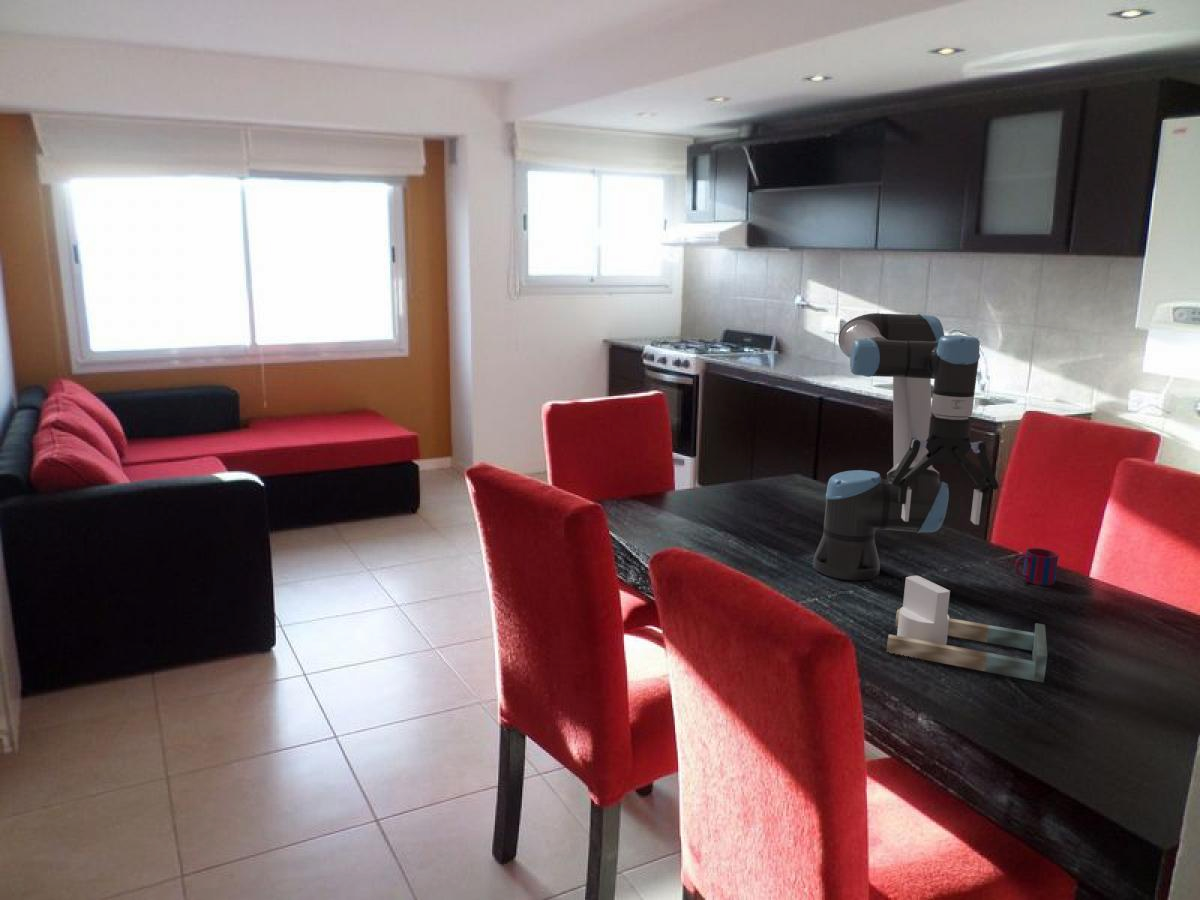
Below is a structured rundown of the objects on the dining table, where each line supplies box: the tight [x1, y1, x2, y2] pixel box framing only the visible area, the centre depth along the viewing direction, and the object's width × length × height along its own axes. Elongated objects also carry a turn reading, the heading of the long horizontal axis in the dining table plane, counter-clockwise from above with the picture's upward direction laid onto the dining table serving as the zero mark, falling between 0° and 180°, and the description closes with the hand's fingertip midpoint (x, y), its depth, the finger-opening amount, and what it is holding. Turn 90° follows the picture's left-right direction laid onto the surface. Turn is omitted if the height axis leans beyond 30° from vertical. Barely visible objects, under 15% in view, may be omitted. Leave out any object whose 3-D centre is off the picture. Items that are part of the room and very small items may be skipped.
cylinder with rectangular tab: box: [896, 575, 951, 645], centre depth 172 cm, size 9×9×12 cm
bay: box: [886, 608, 1048, 683], centre depth 170 cm, size 27×15×5 cm, turn 66°
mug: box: [1014, 547, 1059, 587], centre depth 207 cm, size 7×10×7 cm
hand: (939, 521), depth 179 cm, fingers open, 13 cm apart
